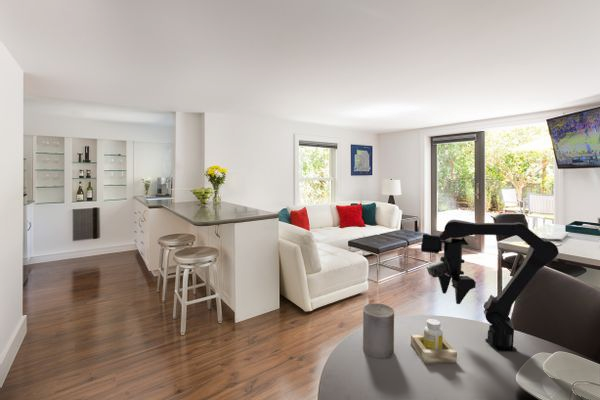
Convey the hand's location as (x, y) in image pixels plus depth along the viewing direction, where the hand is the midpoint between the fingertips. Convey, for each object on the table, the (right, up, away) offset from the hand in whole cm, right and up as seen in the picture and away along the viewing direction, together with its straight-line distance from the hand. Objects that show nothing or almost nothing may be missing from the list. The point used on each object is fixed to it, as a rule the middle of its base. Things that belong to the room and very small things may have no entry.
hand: (450, 298), depth 105 cm
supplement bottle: (-12, -13, -11) cm, 21 cm away
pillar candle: (-29, -14, -10) cm, 33 cm away
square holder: (-12, -14, -11) cm, 21 cm away
